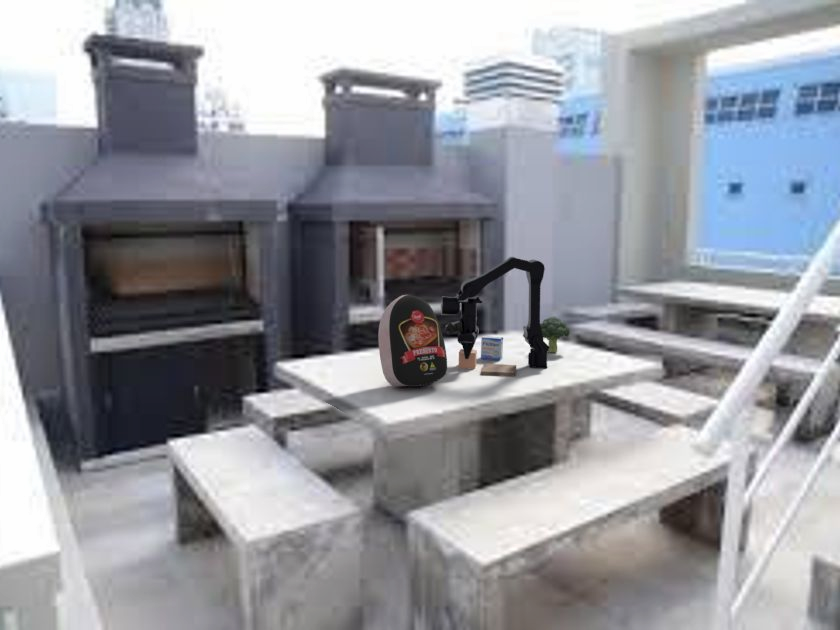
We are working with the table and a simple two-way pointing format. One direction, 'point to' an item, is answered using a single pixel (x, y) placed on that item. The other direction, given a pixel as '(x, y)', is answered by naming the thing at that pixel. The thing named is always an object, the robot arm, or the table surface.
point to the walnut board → (498, 369)
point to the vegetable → (554, 331)
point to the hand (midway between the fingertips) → (468, 356)
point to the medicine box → (491, 347)
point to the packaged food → (411, 343)
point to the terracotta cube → (467, 362)
